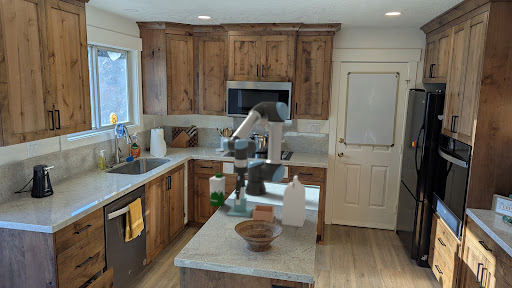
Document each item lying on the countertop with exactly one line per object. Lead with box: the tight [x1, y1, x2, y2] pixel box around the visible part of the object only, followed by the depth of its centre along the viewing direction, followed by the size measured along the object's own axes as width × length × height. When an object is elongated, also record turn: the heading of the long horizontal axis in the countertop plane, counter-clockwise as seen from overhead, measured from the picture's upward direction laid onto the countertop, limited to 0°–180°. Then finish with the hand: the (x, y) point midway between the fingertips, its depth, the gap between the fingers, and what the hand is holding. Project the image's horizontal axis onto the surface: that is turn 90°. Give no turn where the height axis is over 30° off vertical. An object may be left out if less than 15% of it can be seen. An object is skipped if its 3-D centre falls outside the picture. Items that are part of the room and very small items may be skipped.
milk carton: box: [208, 172, 226, 208], centre depth 221 cm, size 9×9×20 cm
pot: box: [252, 204, 275, 223], centre depth 199 cm, size 11×11×7 cm
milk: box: [281, 175, 306, 228], centre depth 196 cm, size 12×12×26 cm
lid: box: [227, 196, 254, 217], centre depth 209 cm, size 13×13×9 cm
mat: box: [224, 206, 254, 219], centre depth 209 cm, size 16×16×1 cm
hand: (240, 201), depth 208 cm, fingers open, 13 cm apart
